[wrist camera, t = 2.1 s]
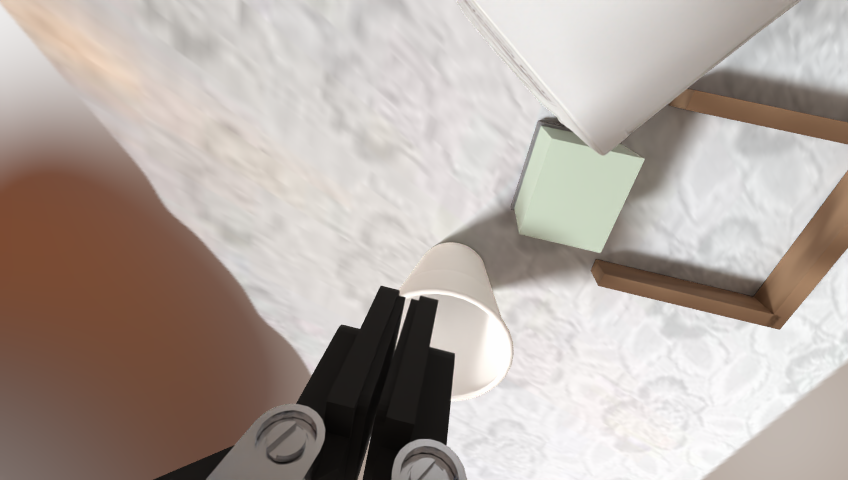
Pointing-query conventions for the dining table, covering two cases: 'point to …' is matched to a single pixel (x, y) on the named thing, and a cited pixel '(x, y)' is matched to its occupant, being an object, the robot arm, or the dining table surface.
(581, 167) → the sage green box
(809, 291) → the bay
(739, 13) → the supplement box
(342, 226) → the dining table surface
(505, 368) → the cup
